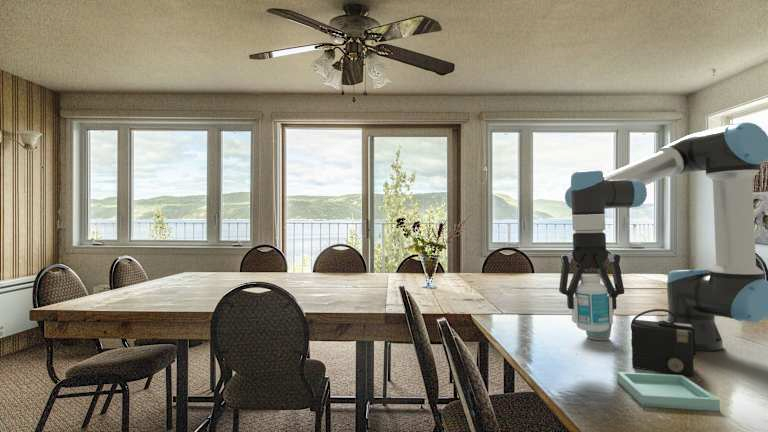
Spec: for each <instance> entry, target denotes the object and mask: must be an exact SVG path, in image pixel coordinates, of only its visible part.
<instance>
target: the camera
mask: <svg viewBox="0 0 768 432" xmlns="http://www.w3.org/2000/svg"><path fill="white" fill-rule="evenodd" d="M653 312H654V313H655V312H663V313H664V312H665V313H668V312H669V313H671V314H672V315H673V316H674V319H673V320H672V321H667V320H658V321H655V320H653V321H652V320H643V319H638V318H639V317H641V316H643V315H645V314H649V313H653ZM675 320H676V318H675V315H674V313H673V312H672V311H670V310H668V309H665V308H654V309H648V310H644V311H642V312H640V313H639V314H637V315H636V316H635V317H634V318H633V319H632V320H631V323H630V330H631V339H630V341H631V342H630V343H631V364H632V365H631V366H632V368H637V369H640V370H641V369H642V370H648V371H649V370H650V371H655V372H663V373H667V374H668V373H669V374H673V375H683V376H688V377H689V376H690V377H692V376H694V374H695V371H694V369H695V368H694V367H695V366H694V360H695V356H697V350H696V343H695V330H694V328H693V325H692V324H690V323H681V322H675Z"/></svg>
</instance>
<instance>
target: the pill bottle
mask: <svg viewBox="0 0 768 432" xmlns="http://www.w3.org/2000/svg"><path fill="white" fill-rule="evenodd" d="M601 281H602V279H601V277H600V275H599V274H582V276H581V278H580V282H579V283H578V286H577V288H576V291H575V294H574V296H576V297H577V307H578V323H575V324H576V327H577V328H578V329H580V330H582V331H585V332H586V331H593V332H601V331H606V330H608V329H609V315H608V297H607V288H606V287H605V285H604V284H602V283H601Z"/></svg>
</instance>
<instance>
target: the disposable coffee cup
mask: <svg viewBox="0 0 768 432" xmlns="http://www.w3.org/2000/svg"><path fill="white" fill-rule="evenodd" d="M607 295H608V296H609V294H608V292H607ZM614 311H615V309H613V313H615V312H614ZM612 325H613V324H610V323H609V329H608V330H606V331H601V332H593V331H585V334H586V335H587V338H588V339H589V340H594V341H595V340H596V341H609V340H610V337H611V332H612Z"/></svg>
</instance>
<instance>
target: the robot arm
mask: <svg viewBox="0 0 768 432" xmlns="http://www.w3.org/2000/svg"><path fill="white" fill-rule="evenodd" d="M767 160H768V134H767V133H766V132H765V130H763V128H762V127H761V126H759V125H757V124H756V123H752V122H741V123H739V122H738V123H731V124H728V125H725V126H721V127H716V128H712V129H707V130H702V131H697V132H695V133H691V134H688V135H686V136H684V137H682V138H680V139H677V140H675V141H674V142H671V143H669V144H667V145H665V146H663V147H660V148H658V149H657V150H656V151H655V153H654V154H651V155H650V156H647V157H644V158H642V159H639V160H637V161H636V162H633V163H630V164H628V165H626V166H623V167H621V168H619V169H616V170H614V171H611V172H609V173H606V174H604V173H603V171H602V170H597V169H596V170H594V169H591V170H582V171H581V170H580V171H576V172H573V174H572V175H571V177H570V187H569V188H568V189H567V190H566V191H565V194H564V200H565V203H566V205H567V206H568V208H570V209H571V215H572V219H571V220H572V231H574V233H573V234H572V244H573V245H572V247H573V248H572V251H571V253H568V254H562V255H560V261H561V271H560V277H559V278H560V279H559V287H558V288H559V289H558V292H559V293H560V294H562V295H565V296H566V301H567V302H566V303H567V305H566V306H567V308H568V309H569V310H571V321H572V322H573V323H574V324H576V323H578V307H577V297H576V296H575V291H576V288H577V286H578V284H580V282H581V280H580V278H581V276H582V275H583V273H585V270H589V269H594V270H596V271H597V273H598V275H600V278H601V281H602V283H603V285H604V286H605V287H606V288H607V292H608V294H609V296H608V295H607V297H608V315H609V323H610V324H612V325H613V324H614V312H613V309H614V310H616V309H617V297H618V296H620V295H624V294H625V287H624V283H623V277H622V273H621V272H622V271H621V268H620V267H621V266H620V261H621V256H620V255H619V254H616V253H609V252H608V250H607V242H606V235H607V234H606V233H605V232H604V231H605V230H606V218H605V217H606V215H605V214H606V213H605V212H606V211H605V210H606V209H623V208H624V209H630V208H637V207H640V206H642V205H643V204H644V203H645V202H646V200H647V195H648V194H647V193H648V192H647V187H646V186H647V185H650V184H651V183H655V182H656V181H659V180H661V179H664V178H665V177H668V178H672V177H673V178H674V177H678V176H679V175H682V174H685V173H686V174H687V173H693V172H702V171H705V176H706V177H708V178H709V179H710V180H711V181H712V191H713V193H712V194H713V195H712V197H713V216H714V218H713V221H714V246H715V247H714V248H715V265H714V266H712V267H711V268H710V269H709V268H706V269H705V268H704V269H703V268H702V269H678V270H671V271H669V272H668V274H667V282H666V286H667V287H666V288H667V289H666V292H667V310H670V311H672V312H673V313H674V315H675V318H676V320H675V322H681V323H690V324H692V325H693V328H694V330H695V343H696V351H704V352H706V351H707V352H711V351H712V352H713V351H714V352H715V351H721V350H723V348H724V345H723V343H724V342H723V338H722V336H721V333H720V332H719V328H718V326H717V324H716V321H715V319H716V318H715V316H718V317H723V318H727V319H732V320H736V321H739V322H748V323H759V322H762V321H764V320H765V319H767V318H768V280H767V279H765V274H764V271H763V270H762V269H761V268H759V267H758V266H757V259H756V238H755V236H756V234H755V231H756V230H755V209H754V207H755V206H754V185H753V184H754V182H753V179H754V177H755V176H756V175H757V174H758V173H760V172H761V171H760V165H761V164H763V163H765V162H766V161H767ZM572 259H573V260H574V261H575V262H576V265H575V268H574V272H573V275H572V277H571V280H570V283H569V285H568V282H569V281H568V280H569V271H570V263H572ZM607 259H608V261H609V262H610V268H611V273H612V278H613V283H614V285H613V283H612V281H611V279H610V277H609V275H608V273H607V269H606V267H605V265H604V263H605V261H606V260H607ZM667 313H668V314H667V315H668V316H667V319H666V321H672V320H673V319H674V316H673V315H672V314H671V313H669V312H667Z"/></svg>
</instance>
